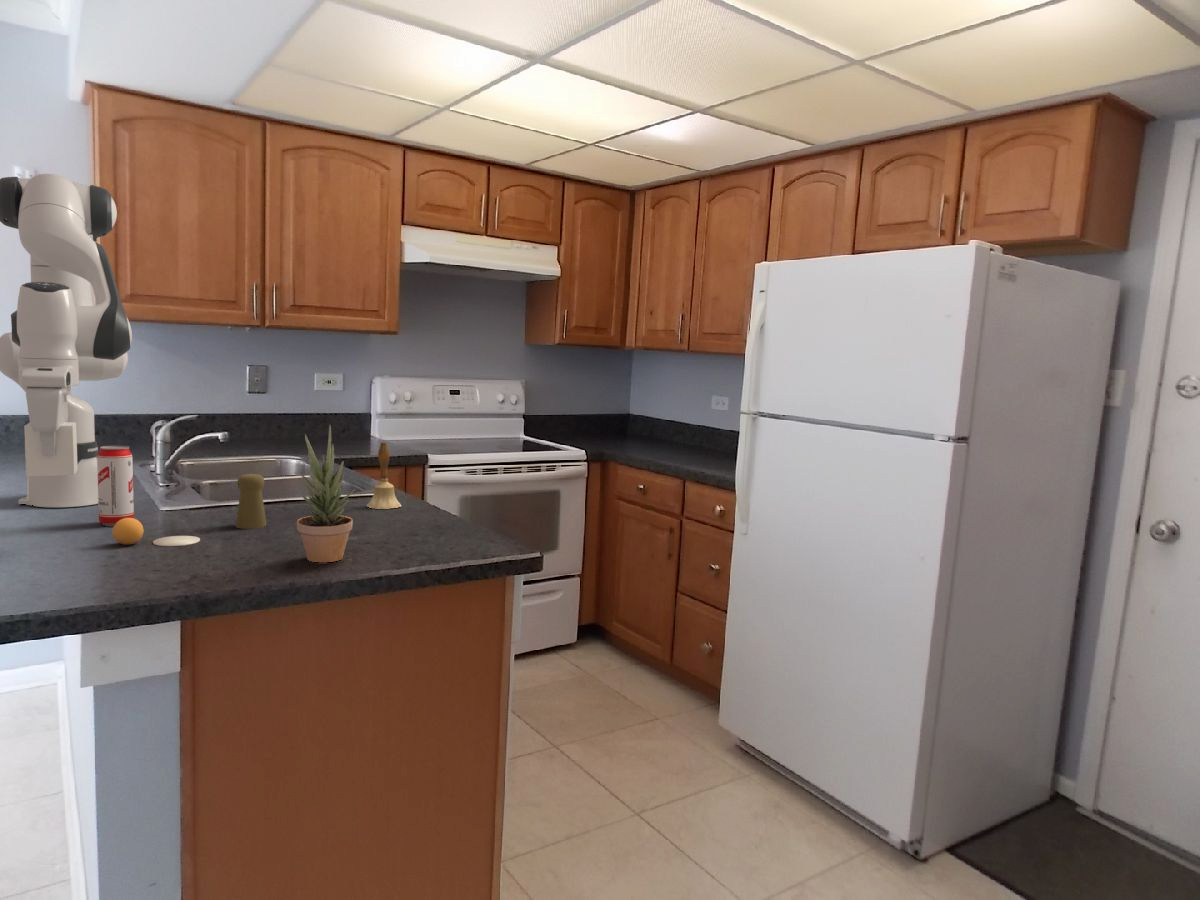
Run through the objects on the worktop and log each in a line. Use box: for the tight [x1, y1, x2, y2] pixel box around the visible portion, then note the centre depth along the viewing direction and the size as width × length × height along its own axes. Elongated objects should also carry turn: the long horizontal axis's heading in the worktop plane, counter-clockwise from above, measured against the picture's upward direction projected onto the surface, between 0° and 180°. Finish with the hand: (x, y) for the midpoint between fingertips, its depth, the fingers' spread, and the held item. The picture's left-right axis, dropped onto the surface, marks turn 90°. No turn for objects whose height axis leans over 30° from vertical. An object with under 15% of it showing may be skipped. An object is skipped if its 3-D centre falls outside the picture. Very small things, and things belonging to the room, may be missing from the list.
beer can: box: [96, 445, 135, 527], centre depth 166 cm, size 6×6×16 cm
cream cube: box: [23, 422, 78, 477], centre depth 144 cm, size 7×7×9 cm
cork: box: [235, 473, 267, 530], centre depth 170 cm, size 6×6×11 cm
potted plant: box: [296, 424, 356, 563], centre depth 145 cm, size 10×10×25 cm
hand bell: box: [366, 441, 402, 509], centre depth 197 cm, size 8×8×16 cm
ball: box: [112, 517, 145, 546], centre depth 151 cm, size 5×5×5 cm
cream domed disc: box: [152, 535, 201, 547], centre depth 155 cm, size 8×8×1 cm
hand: (51, 452), depth 144 cm, fingers closed on cream cube, 7 cm apart
